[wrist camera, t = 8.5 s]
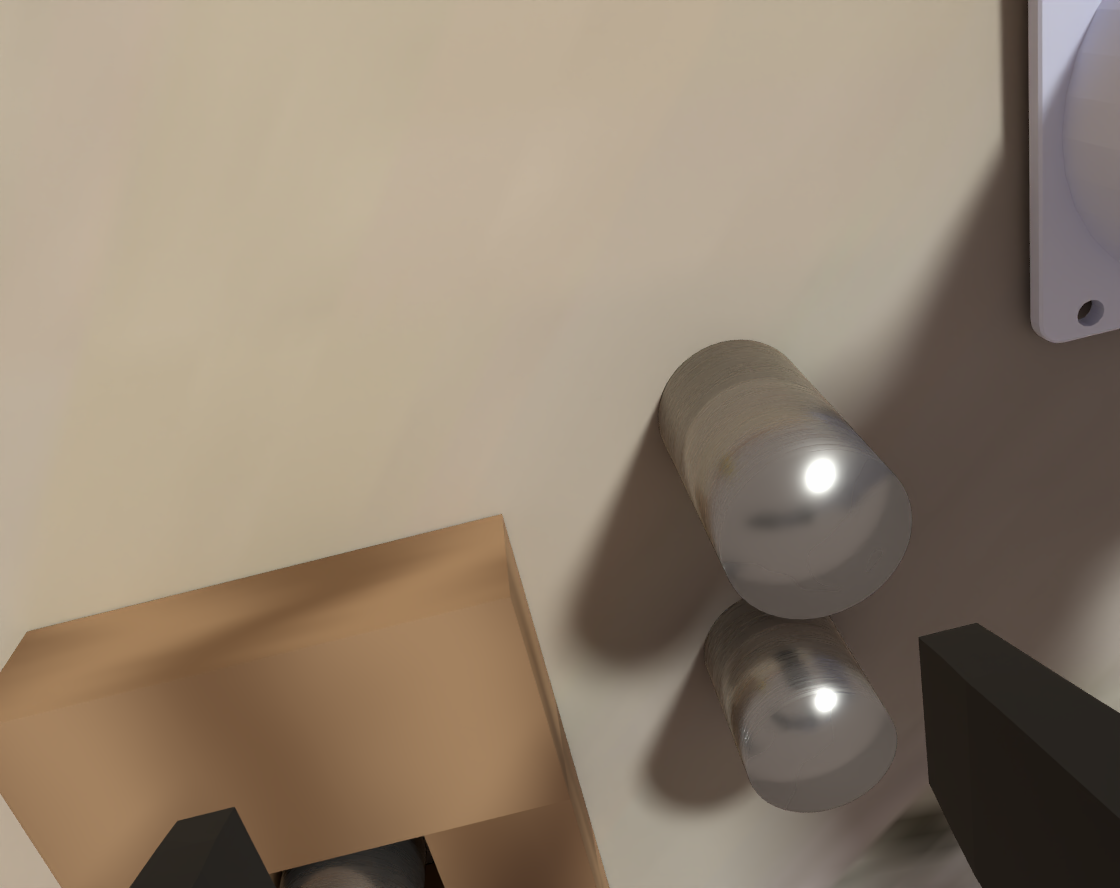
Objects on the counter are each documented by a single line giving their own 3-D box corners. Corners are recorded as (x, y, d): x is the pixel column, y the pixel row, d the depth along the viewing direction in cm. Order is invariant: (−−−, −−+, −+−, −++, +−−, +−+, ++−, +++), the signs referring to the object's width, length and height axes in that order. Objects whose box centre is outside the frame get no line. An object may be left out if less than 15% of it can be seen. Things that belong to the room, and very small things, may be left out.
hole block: (501, 513, 20) (510, 596, 17) (629, 956, 26) (649, 1068, 23) (27, 631, 20) (-40, 732, 17) (265, 1046, 26) (244, 1169, 23)
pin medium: (796, 323, 19) (906, 429, 14) (812, 458, 20) (917, 593, 16) (645, 361, 19) (707, 477, 14) (672, 492, 20) (736, 638, 16)
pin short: (826, 576, 21) (891, 676, 18) (838, 680, 23) (901, 791, 20) (694, 608, 21) (737, 715, 18) (714, 711, 23) (757, 827, 20)
